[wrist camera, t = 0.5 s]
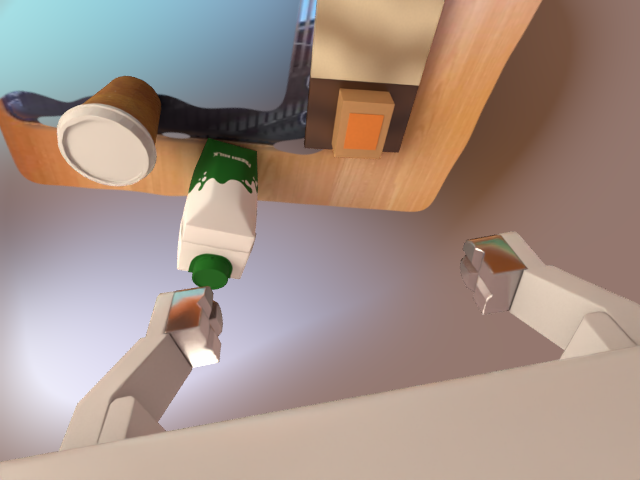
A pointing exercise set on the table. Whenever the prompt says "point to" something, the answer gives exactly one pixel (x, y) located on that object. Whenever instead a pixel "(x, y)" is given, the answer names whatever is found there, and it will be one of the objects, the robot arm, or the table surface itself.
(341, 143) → the coffee packet
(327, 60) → the board
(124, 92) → the disposable coffee cup
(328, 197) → the table surface
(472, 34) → the table surface
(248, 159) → the milk carton
